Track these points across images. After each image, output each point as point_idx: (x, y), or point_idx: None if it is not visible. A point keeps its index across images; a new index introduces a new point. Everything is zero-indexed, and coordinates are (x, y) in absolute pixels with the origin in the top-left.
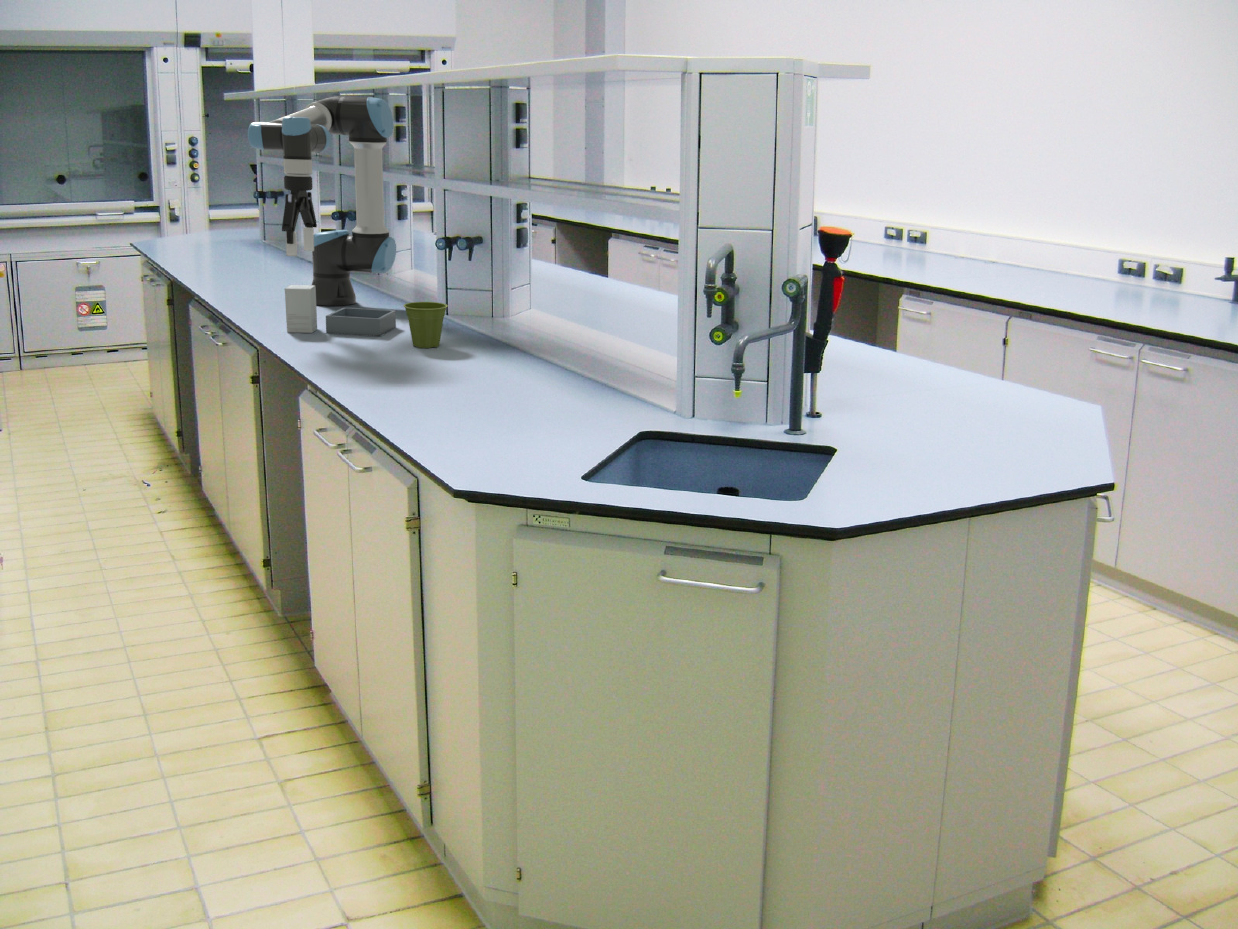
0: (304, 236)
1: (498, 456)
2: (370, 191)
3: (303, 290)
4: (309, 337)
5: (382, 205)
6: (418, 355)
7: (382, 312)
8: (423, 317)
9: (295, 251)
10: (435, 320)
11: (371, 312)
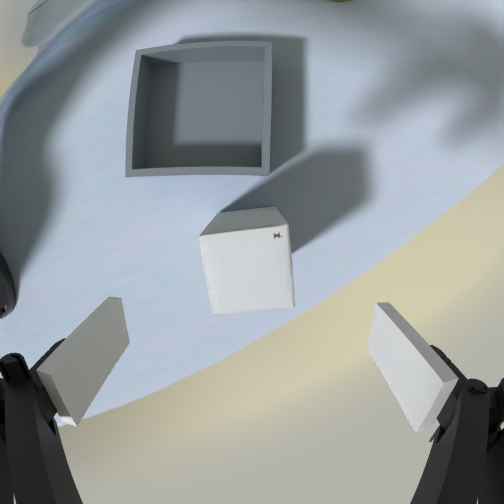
0: (98, 383)
1: None
2: None
3: (290, 246)
4: (324, 197)
5: None
6: (406, 3)
7: (140, 77)
8: None
9: (398, 315)
10: None
11: (138, 103)
